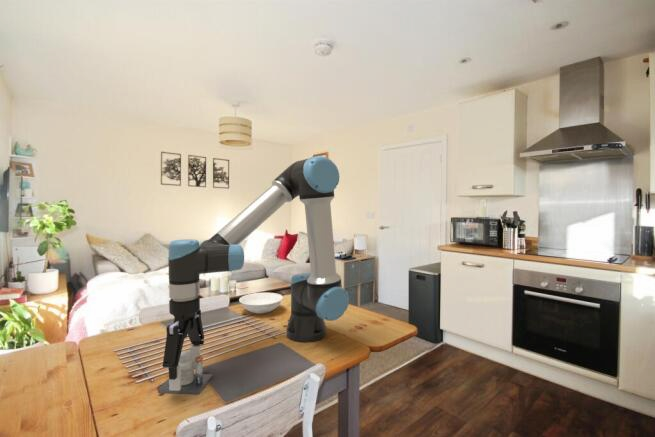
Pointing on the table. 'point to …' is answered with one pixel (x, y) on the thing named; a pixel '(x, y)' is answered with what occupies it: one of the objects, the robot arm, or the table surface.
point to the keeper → (196, 385)
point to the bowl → (261, 302)
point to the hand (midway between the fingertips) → (185, 378)
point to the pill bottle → (186, 367)
